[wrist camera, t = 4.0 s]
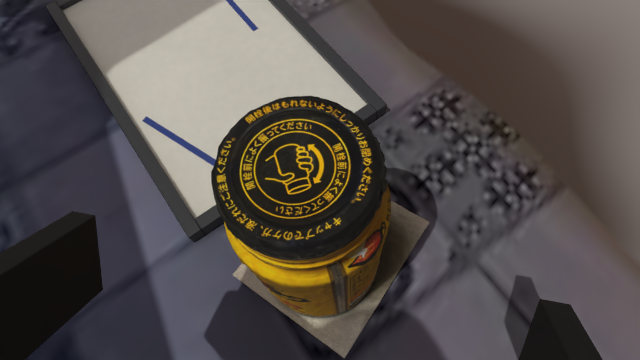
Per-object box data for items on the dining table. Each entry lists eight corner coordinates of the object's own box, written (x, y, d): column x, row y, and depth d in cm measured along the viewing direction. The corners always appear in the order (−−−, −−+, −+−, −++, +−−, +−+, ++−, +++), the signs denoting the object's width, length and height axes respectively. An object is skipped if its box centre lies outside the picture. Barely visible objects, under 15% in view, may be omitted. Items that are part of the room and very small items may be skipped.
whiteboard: (53, 15, 32) (45, 5, 31) (212, -67, 35) (209, -79, 34) (194, 242, 24) (188, 237, 23) (386, 113, 27) (387, 104, 26)
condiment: (233, 275, 23) (131, 192, 12) (321, 159, 26) (303, 4, 15) (344, 358, 21) (342, 347, 10) (428, 224, 24) (498, 99, 13)
